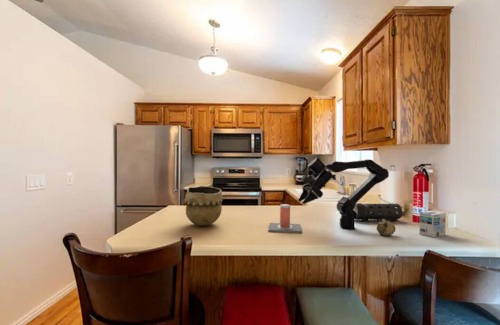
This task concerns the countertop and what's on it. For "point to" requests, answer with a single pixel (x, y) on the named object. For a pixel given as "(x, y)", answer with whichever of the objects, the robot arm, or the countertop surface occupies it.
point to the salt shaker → (284, 215)
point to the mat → (292, 229)
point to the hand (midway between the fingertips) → (300, 202)
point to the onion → (385, 228)
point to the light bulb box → (432, 223)
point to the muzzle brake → (377, 211)
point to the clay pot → (203, 204)
